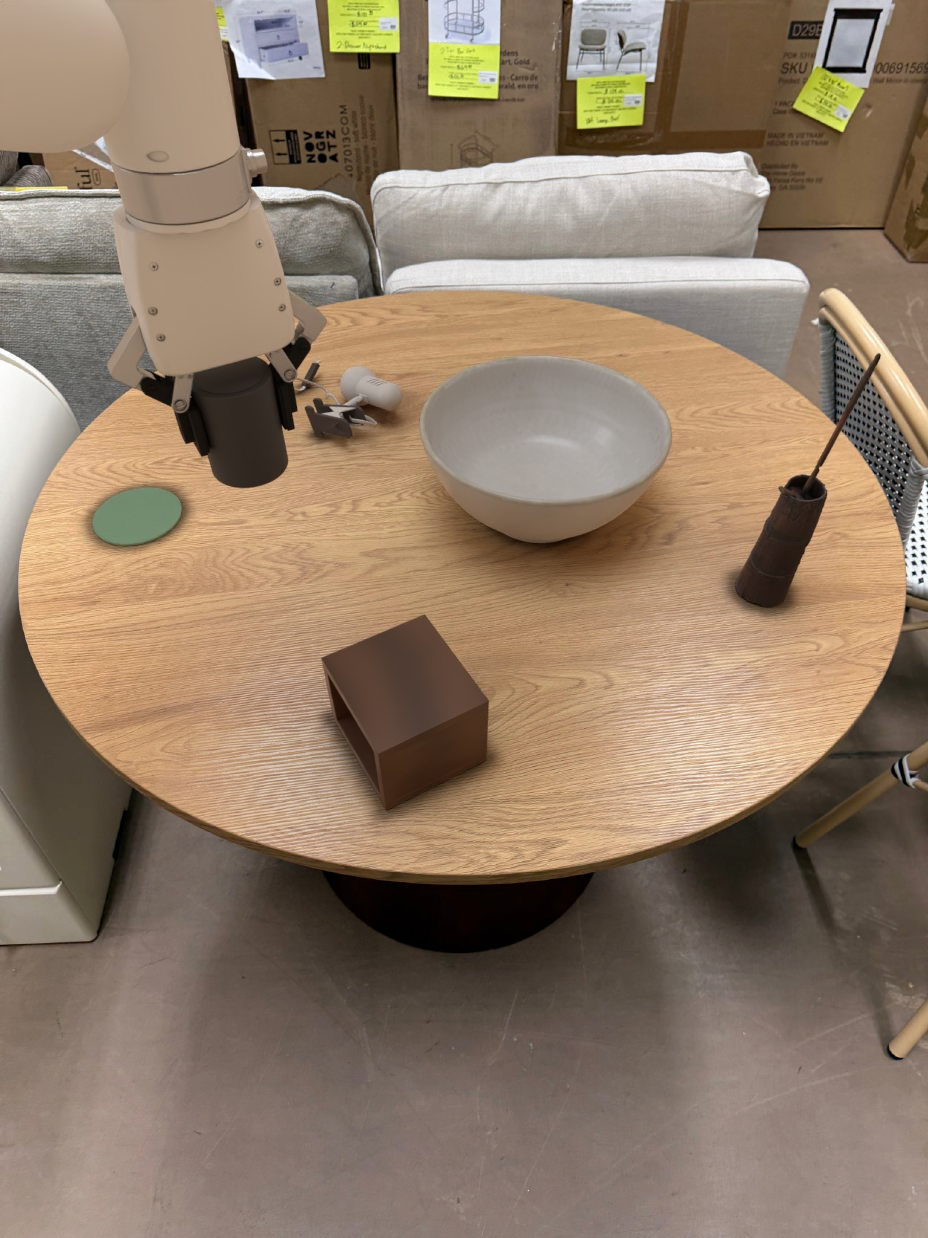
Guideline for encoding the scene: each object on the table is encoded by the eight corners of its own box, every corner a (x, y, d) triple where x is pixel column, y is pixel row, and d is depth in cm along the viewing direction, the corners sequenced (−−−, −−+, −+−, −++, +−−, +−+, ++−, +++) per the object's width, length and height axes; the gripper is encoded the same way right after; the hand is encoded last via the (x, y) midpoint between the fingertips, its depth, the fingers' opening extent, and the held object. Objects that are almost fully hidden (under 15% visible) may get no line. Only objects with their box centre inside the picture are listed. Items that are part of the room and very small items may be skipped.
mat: (105, 557, 90) (104, 555, 90) (84, 506, 96) (83, 504, 95) (193, 527, 93) (192, 525, 93) (168, 479, 99) (167, 477, 99)
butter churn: (716, 626, 83) (801, 385, 62) (700, 561, 89) (772, 323, 69) (806, 628, 83) (922, 387, 62) (784, 562, 89) (881, 324, 68)
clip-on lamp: (273, 419, 112) (348, 453, 101) (255, 377, 108) (331, 407, 97) (339, 380, 117) (418, 407, 105) (325, 338, 113) (404, 362, 101)
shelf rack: (386, 811, 69) (378, 753, 62) (333, 718, 75) (320, 657, 69) (486, 760, 72) (489, 700, 66) (428, 676, 79) (424, 613, 72)
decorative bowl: (482, 419, 107) (484, 334, 98) (680, 475, 100) (702, 388, 91) (381, 543, 91) (372, 455, 82) (607, 622, 83) (624, 534, 74)
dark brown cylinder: (225, 497, 62) (200, 406, 56) (202, 455, 65) (176, 365, 59) (299, 473, 64) (283, 383, 58) (273, 434, 67) (254, 345, 61)
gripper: (295, 141, 54) (328, 380, 68) (23, 189, 48) (117, 440, 62) (340, 178, 50) (365, 427, 63) (46, 236, 44) (143, 496, 58)
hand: (242, 431), depth 62 cm, fingers closed on dark brown cylinder, 6 cm apart
